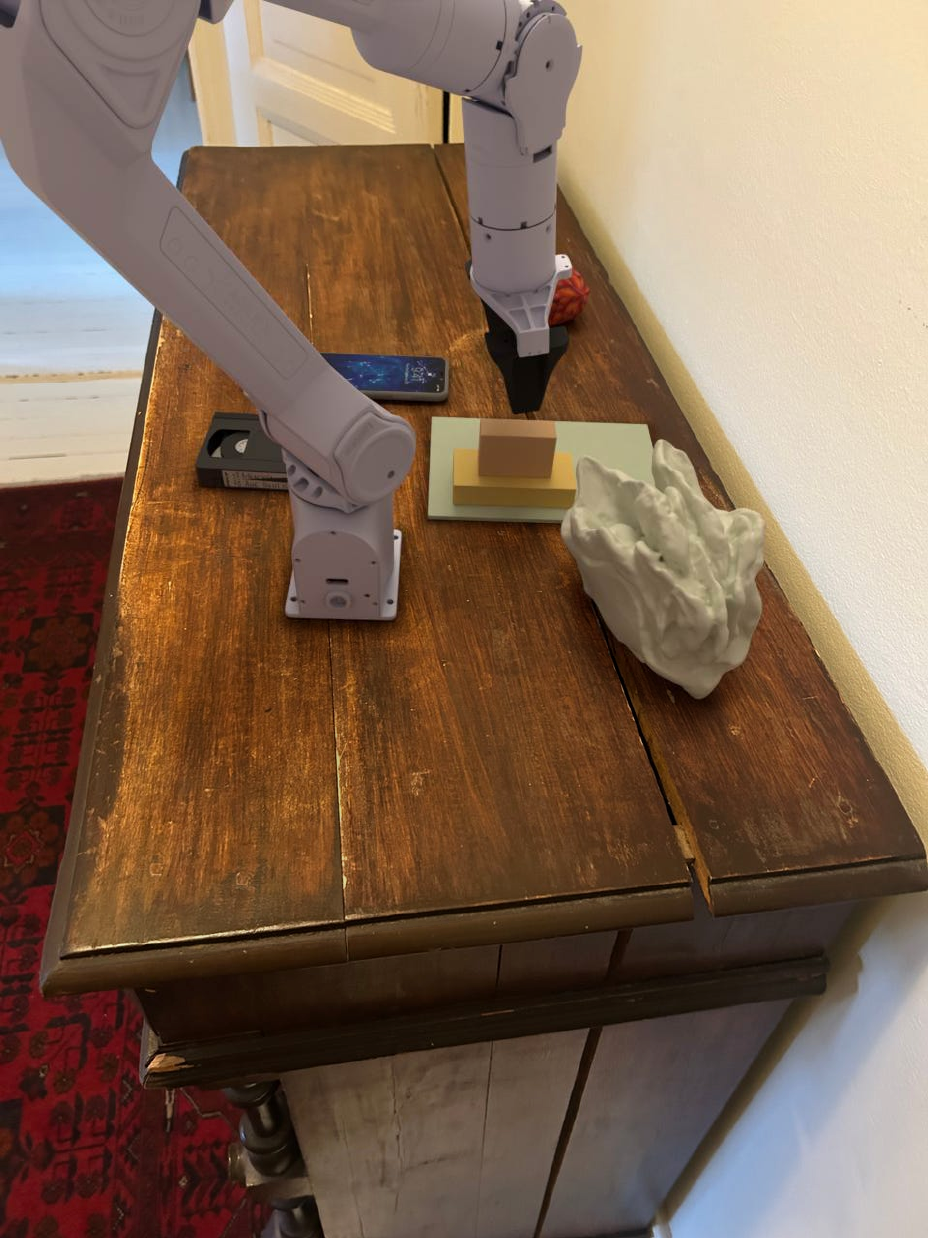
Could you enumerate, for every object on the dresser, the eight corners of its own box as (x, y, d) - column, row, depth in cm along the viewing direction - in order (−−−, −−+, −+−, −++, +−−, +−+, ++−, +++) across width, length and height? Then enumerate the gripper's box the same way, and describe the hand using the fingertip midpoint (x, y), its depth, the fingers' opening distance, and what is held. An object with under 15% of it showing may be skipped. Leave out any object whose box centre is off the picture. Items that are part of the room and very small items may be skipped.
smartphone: (297, 349, 86) (449, 355, 86) (298, 358, 86) (449, 364, 87) (286, 389, 80) (448, 395, 81) (287, 398, 81) (448, 404, 82)
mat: (670, 527, 71) (672, 523, 71) (427, 519, 71) (427, 515, 70) (646, 427, 81) (647, 424, 81) (431, 419, 80) (431, 416, 80)
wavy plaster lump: (580, 638, 71) (543, 455, 66) (739, 605, 70) (716, 416, 64) (609, 757, 55) (563, 527, 49) (818, 718, 54) (797, 476, 48)
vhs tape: (197, 486, 72) (193, 466, 71) (218, 430, 78) (214, 411, 76) (368, 495, 72) (367, 476, 71) (377, 439, 78) (377, 420, 76)
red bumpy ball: (562, 322, 98) (606, 325, 92) (512, 325, 95) (553, 329, 89) (563, 261, 96) (608, 260, 89) (511, 262, 93) (554, 261, 86)
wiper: (573, 508, 72) (583, 448, 67) (452, 504, 71) (455, 444, 67) (568, 471, 75) (578, 411, 71) (452, 467, 75) (455, 407, 70)
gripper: (599, 257, 52) (588, 431, 63) (549, 147, 61) (548, 316, 72) (484, 274, 52) (493, 446, 63) (450, 161, 61) (464, 329, 72)
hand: (516, 378), depth 67 cm, fingers open, 7 cm apart
